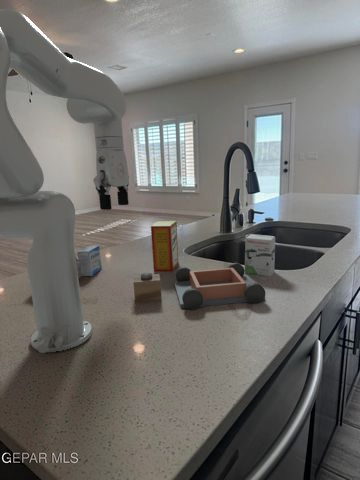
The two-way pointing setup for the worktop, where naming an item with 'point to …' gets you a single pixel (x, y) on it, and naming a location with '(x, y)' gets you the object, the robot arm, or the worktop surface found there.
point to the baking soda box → (164, 246)
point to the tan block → (147, 288)
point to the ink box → (259, 254)
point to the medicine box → (90, 260)
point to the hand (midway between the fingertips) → (115, 207)
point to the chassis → (216, 287)
